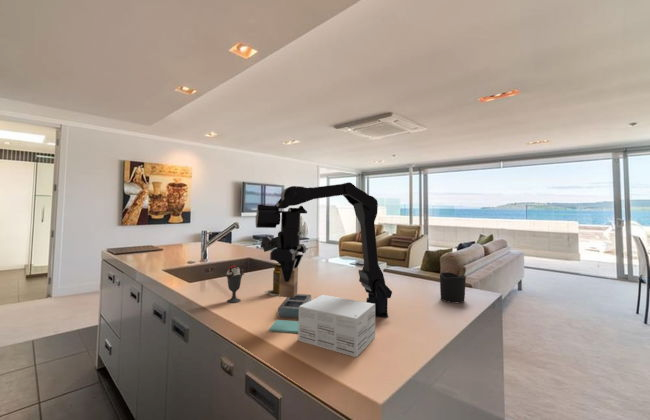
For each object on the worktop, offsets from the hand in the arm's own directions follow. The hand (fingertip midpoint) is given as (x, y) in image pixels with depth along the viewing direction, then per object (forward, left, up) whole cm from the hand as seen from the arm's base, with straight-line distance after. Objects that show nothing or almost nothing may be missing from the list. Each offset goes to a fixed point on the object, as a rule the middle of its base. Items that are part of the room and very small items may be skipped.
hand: (289, 279), depth 83 cm
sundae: (+25, -18, -13) cm, 34 cm away
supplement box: (-15, +7, -14) cm, 22 cm away
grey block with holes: (0, -13, -13) cm, 18 cm away
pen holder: (-59, -35, -14) cm, 69 cm away
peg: (0, 0, -5) cm, 5 cm away
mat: (-1, +2, -13) cm, 13 cm away
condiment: (+13, -32, -14) cm, 37 cm away
